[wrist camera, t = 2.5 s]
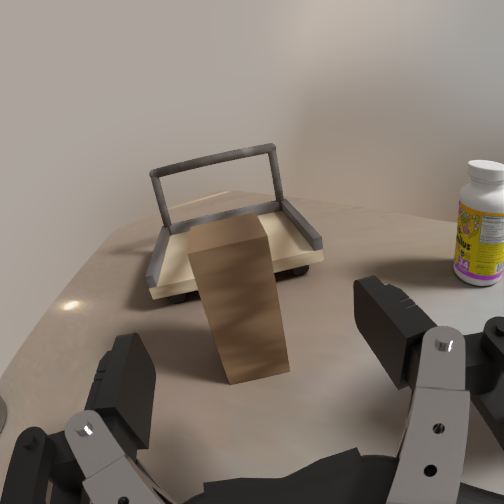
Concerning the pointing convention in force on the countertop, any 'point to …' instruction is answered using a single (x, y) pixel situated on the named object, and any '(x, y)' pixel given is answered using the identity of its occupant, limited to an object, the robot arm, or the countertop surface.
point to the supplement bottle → (481, 225)
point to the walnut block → (239, 296)
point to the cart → (270, 215)
